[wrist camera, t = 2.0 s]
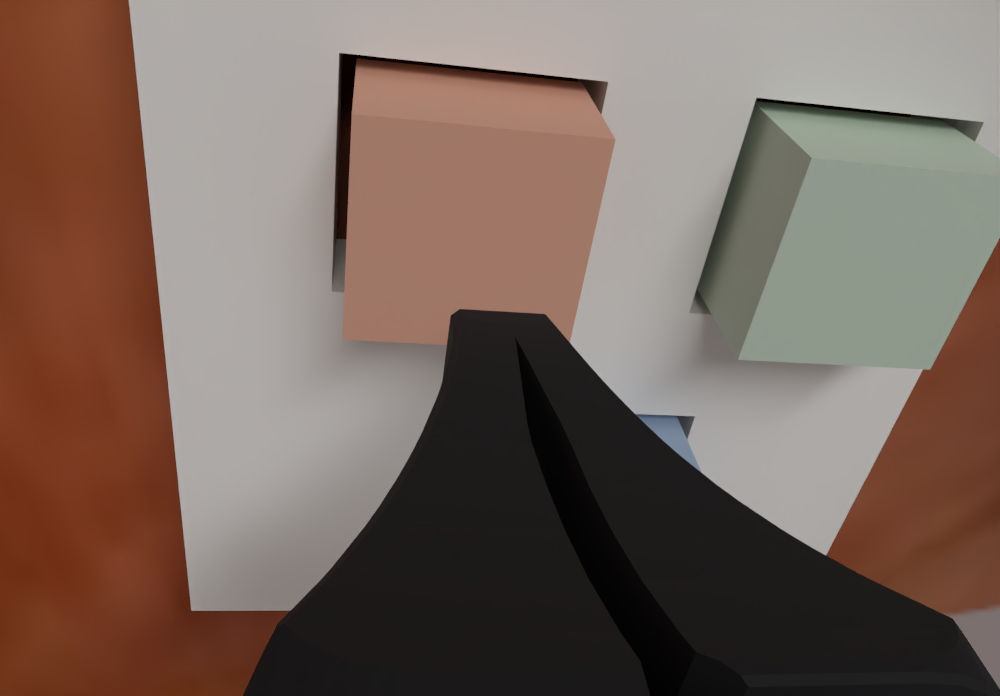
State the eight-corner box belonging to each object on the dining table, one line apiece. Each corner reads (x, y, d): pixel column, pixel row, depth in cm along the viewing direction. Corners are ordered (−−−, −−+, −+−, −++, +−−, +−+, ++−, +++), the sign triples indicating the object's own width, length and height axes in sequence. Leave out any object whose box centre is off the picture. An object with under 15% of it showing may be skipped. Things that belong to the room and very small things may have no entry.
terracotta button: (581, 82, 17) (615, 139, 14) (544, 274, 19) (568, 351, 17) (356, 58, 16) (351, 113, 14) (347, 261, 18) (342, 340, 16)
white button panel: (1035, -24, 18) (1113, 3, 16) (769, 549, 28) (797, 609, 26) (149, -150, 15) (114, -135, 13) (206, 544, 25) (191, 610, 23)
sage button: (944, 120, 18) (1030, 178, 16) (865, 296, 21) (930, 369, 18) (751, 100, 17) (811, 158, 15) (694, 284, 20) (738, 360, 17)
